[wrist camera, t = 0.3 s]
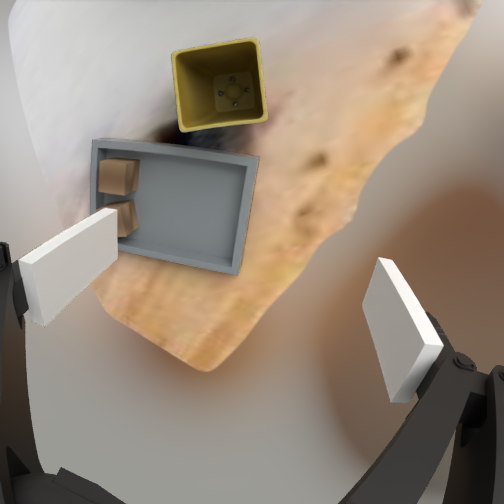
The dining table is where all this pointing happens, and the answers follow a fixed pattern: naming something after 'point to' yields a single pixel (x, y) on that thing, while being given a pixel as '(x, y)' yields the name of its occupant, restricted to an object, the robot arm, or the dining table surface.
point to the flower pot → (219, 85)
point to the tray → (183, 201)
